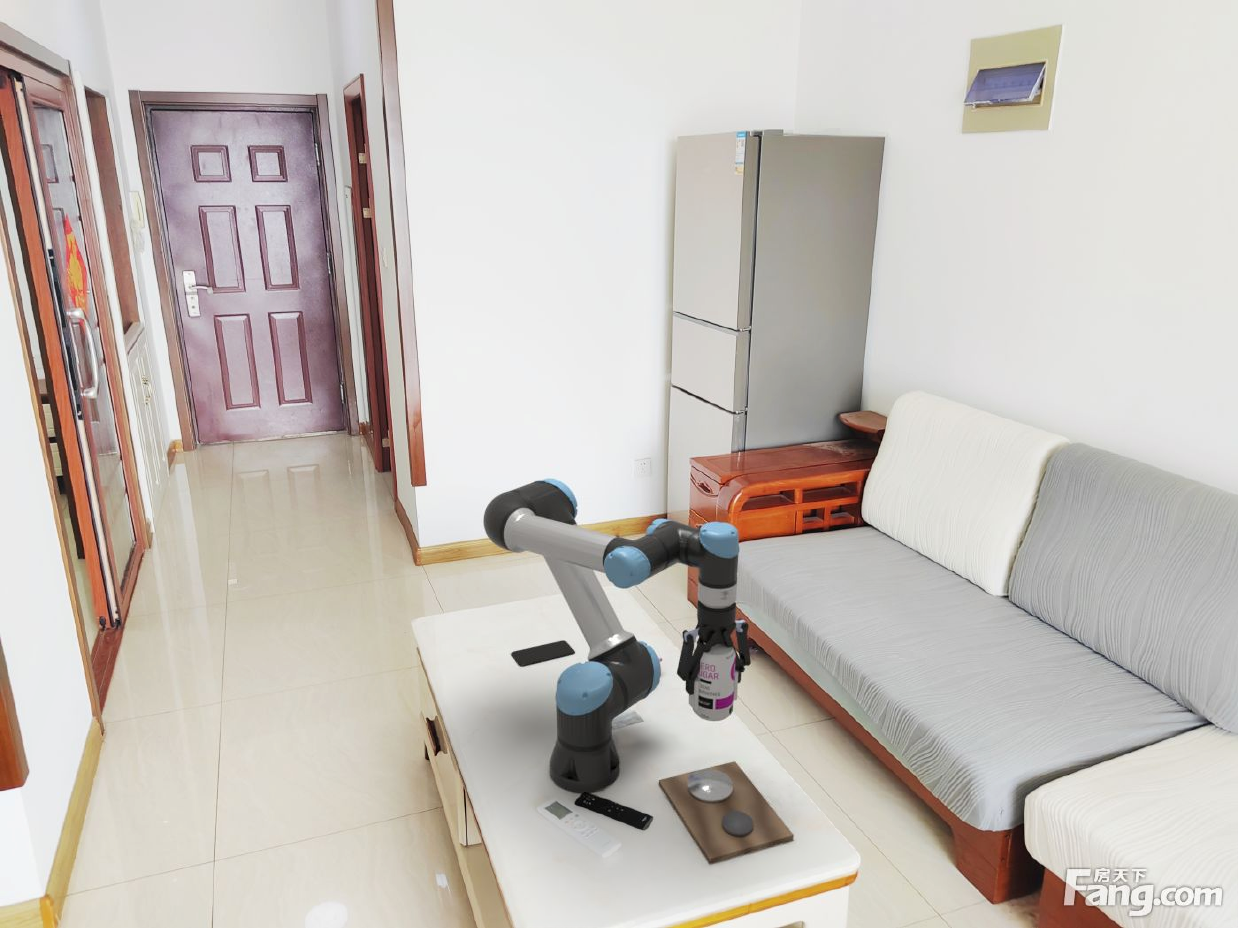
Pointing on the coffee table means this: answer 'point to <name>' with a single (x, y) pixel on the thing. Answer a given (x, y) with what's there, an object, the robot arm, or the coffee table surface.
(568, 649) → the smartphone
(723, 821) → the grey disc
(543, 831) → the coffee table surface
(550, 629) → the coffee table surface
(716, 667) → the supplement can
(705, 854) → the walnut board
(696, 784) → the large steel flange
